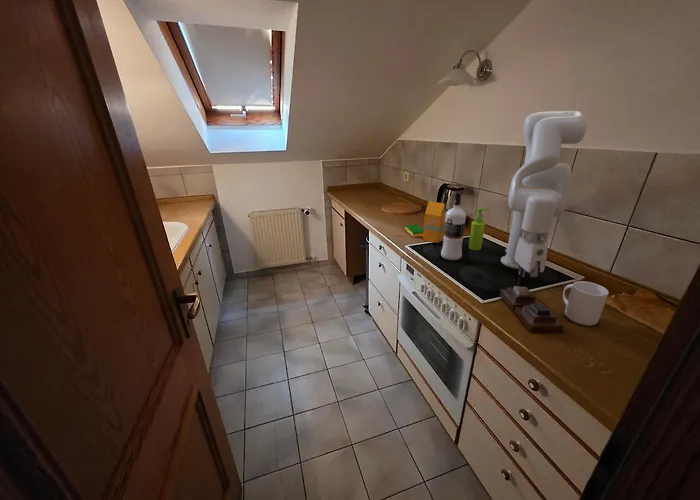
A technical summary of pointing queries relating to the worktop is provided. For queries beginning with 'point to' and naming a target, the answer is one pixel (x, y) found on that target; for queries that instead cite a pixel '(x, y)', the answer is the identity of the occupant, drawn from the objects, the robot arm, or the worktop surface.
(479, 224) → the soap dispenser
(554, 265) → the worktop surface
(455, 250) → the vodka
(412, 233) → the dish sponge
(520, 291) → the key ivory
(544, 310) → the key black
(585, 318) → the mug
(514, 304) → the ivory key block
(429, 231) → the orange juice
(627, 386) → the worktop surface
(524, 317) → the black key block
